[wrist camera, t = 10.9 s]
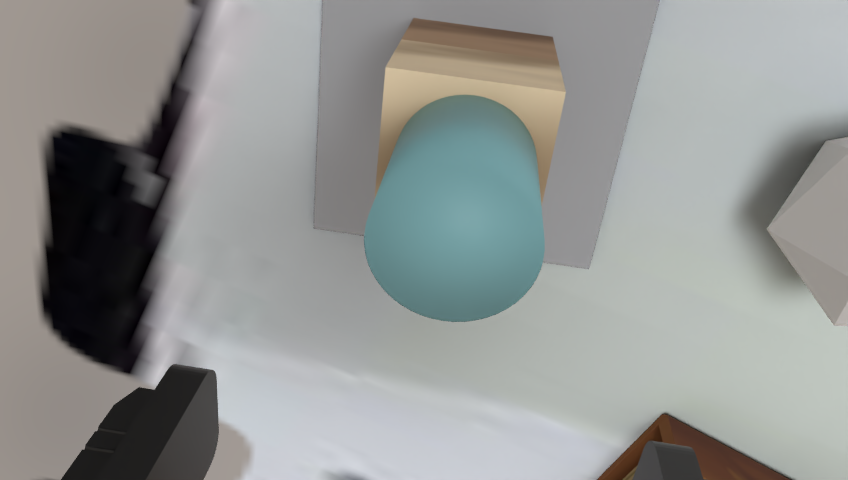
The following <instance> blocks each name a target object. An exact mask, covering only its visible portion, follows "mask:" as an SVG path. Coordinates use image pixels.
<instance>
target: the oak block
mask: <svg viewBox="0 0 848 480" xmlns="http://www.w3.org/2000/svg"><path fill="white" fill-rule="evenodd" d="M565 94H566V90H565V86H564V82H563V77H562V73H561V69H560V65H559V61H556V60H549V59H542V58H535V57H527V56H520V55H513V54H505V53H498V52H491V51H483V50H476V49H469V48H461V47H454V46H447V45H439V44H432V43H425V42H417V41H410V40H403V39H401V41H400V43H399V44H398V46H397V48H396V50H395V51H394V53H393V55H392V57H391V58H390V60H389V62H388V64H387V65H386V68H385V80H384V92H383V103H382V115H381V127H380V139H379V151H378V163H377V175H376V187H375V197H376V194H377V192H378V189H379V187H380V184H381V181H382V179H383V176H384V174H385V171H386V169H387V166H388V163H389V161H390V158H391V156H392V153H393V150H394V148H395V145H396V143H397V140H398V137H399V135H400V133H401V131H402V129H403V128H404V126H405V125H406V123H407V122H408V121H409V119H410V118H411V117H412V116H413V115H414V114H415V113H416V112H417V111H419V110H420V109H421V108H423V107H424V106H426V105H427V104H429V103H431V102H433V101H435V100H438V99H441V98H444V97H448V96H454V95H476V96H481V97H485V98H488V99H491V100H494V101H496V102H498V103H500V104H502V105H504V106H505V107H507V108H508V109H510V110H511V111H512V112H513V113H515V114H516V115H517V116H518V117H519V118H520V119H521V121H522V122H523V123H524V124H525V126H526V127H527V129H528V130H529V132H530V134H531V137H532V139H533V141H534V145H535V148H536V154H537V163H538V174H539V185H540V195H541V206H542V202H543V198H544V193H545V188H546V184H547V179H548V174H549V170H550V165H551V160H552V155H553V151H554V146H555V141H556V137H557V132H558V127H559V123H560V118H561V113H562V108H563V104H564V99H565ZM374 200H375V199H374Z"/></svg>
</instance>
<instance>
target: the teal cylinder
mask: <svg viewBox="0 0 848 480" xmlns="http://www.w3.org/2000/svg"><path fill="white" fill-rule="evenodd" d="M364 246H365V253H366V257H367V261H368V264H369V267H370V269H371V271H372V273H373V275H374V277H375V278H376V280H377V281H378V283H379V284H380V285H381V287H382V288H383V289H384V290H385V291H386V292H387V293H388V294H389V295H390V296H391V297H392V298H393V299H394V300H395V301H397V302H398V303H399V304H401V305H402V306H404V307H406V308H407V309H409V310H411V311H413V312H415V313H417V314H420V315H422V316H425V317H429V318H432V319H437V320H441V321H451V322H466V321H474V320H479V319H483V318H487V317H490V316H493V315H495V314H498V313H500V312H502V311H504V310H506V309H507V308H509V307H510V306H512V305H513V304H515V303H516V302H517V301H518V300H519V299H521V298H522V297H523V296H524V295H525V294H526V293H527V291H528V290H529V289H530V288H531V286H532V285H533V283H534V282H535V280H536V278H537V276H538V274H539V272H540V269H541V266H542V263H543V259H544V252H545V238H544V228H543V217H542V206H541V195H540V185H539V174H538V163H537V154H536V148H535V145H534V141H533V139H532V137H531V134H530V132H529V130H528V129H527V127H526V126H525V124H524V123H523V122H522V121H521V119H520V118H519V117H518V116H517V115H516V114H515V113H513V112H512V111H511V110H510V109H508V108H507V107H505V106H504V105H502V104H500V103H498V102H496V101H494V100H491V99H488V98H485V97H481V96H476V95H454V96H448V97H444V98H441V99H438V100H435V101H433V102H431V103H429V104H427V105H426V106H424V107H423V108H421V109H420V110H419V111H417V112H416V113H415V114H414V115H413V116H412V117H411V118H410V119H409V121H408V122H407V123H406V125H405V126H404V128H403V129H402V131H401V133H400V135H399V137H398V140H397V143H396V145H395V148H394V150H393V153H392V156H391V158H390V161H389V163H388V166H387V169H386V171H385V174H384V176H383V179H382V181H381V184H380V187H379V189H378V192H377V194H376V197H375V200H374V202H373V205H372V207H371V210H370V213H369V215H368V219H367V222H366V226H365V233H364Z"/></svg>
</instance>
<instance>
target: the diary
mask: <svg viewBox="0 0 848 480" xmlns="http://www.w3.org/2000/svg"><path fill="white" fill-rule="evenodd" d="M648 441H656V442H662V443H669V444H675V445H681V446H688V447H691V448H692V449H693V450H694V452H695V454H696V457H697V460H698V463H699V466H700V470H701V473H702V476H703V479H707V480H790V479H788V478H786V477H784V476H782V475H780V474H778V473H777V472H775V471H773V470H771V469H769V468H767V467H765V466H763V465H761V464H760V463H758V462H756V461H754V460H752V459H750V458H748V457H746V456H744V455H742V454H741V453H739V452H737V451H735V450H733V449H731V448H729V447H727V446H725V445H723V444H722V443H720V442H718V441H716V440H714V439H712V438H710V437H708V436H706V435H704V434H703V433H701V432H699V431H697V430H695V429H693V428H691V427H689V426H687V425H686V424H684V423H682V422H680V421H678V420H676V419H674V418H672V417H670V416H668V415H664V414H662V415H661V416H660V417H659V418H658V419H657V420H656V421H655V422H654V423H653V424H652V425H651V426H650V427H649V428H648V429H647V430H646V431H645V432H644V433H643V434H642V435H641V436H640V437H639V438H638V439H637V440H636V441H635V442H634V443H633V444H632V445H631V446H630V447H629V448H628V449H627V450H626V451H625V452H624V453H623V454H622V455H621V456H620V457H619V458H618V459H617V460H616V461H615V462H614V463H613V464H612V465H611V466H610V467H609V468H608V469H607V470H606V471H605V472H604V473H603V474H602V475H601V476H600V477H599V478H598V479H597V480H632V479H633V477H634V474H635V471H636V468H637V466H638V463H639V460H640V457H641V455H642V452H643V449H644V447H645V445H646V443H647V442H648Z"/></svg>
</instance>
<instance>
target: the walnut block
mask: <svg viewBox="0 0 848 480" xmlns="http://www.w3.org/2000/svg"><path fill="white" fill-rule="evenodd" d="M402 39H403V40H410V41H417V42H425V43H432V44H439V45H447V46H454V47H461V48H469V49H476V50H483V51H491V52H498V53H505V54H513V55H520V56H527V57H535V58H542V59H549V60H556V61H558V57H557V53H556V48H555V44H554V40H553V37H551V36H544V35H536V34H529V33H522V32H514V31H507V30H500V29H492V28H485V27H477V26H470V25H463V24H455V23H448V22H441V21H433V20H426V19H419V18H413V20H412V22H411V23H410V25H409V27H408V29H407V30H406V32H405V34H404V36H403V37H402Z"/></svg>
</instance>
